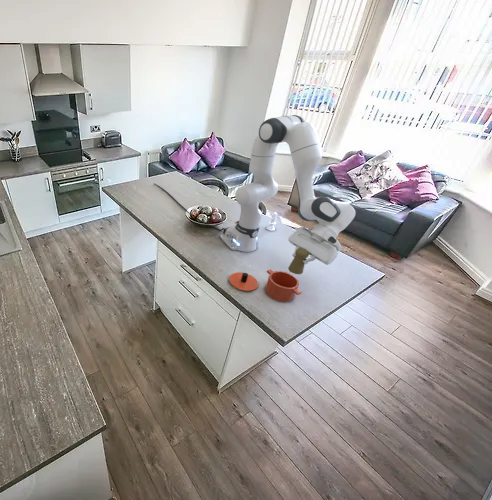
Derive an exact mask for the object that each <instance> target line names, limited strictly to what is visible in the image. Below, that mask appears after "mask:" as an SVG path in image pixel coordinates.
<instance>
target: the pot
mask: <svg viewBox="0 0 492 500" xmlns="http://www.w3.org/2000/svg"><path fill="white" fill-rule="evenodd" d="M266 273H267V274H268V279H267V281H266V285H265V287H264V289H265V294H266V295H267V296H268V297H269V298H271V299H272V300H275V301H276V302H281V303H288V302H291V301H292V300H294V298H295V296H299V295H302V293H303V291H301V290H300V289H298V288H299V286H300V281H299V280H298V278H297V277H296V276H294V274H292V273H289V272H287V271H282V270H274V271H273V270H272V269H271V268H270V269H267V270H266Z"/></svg>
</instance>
